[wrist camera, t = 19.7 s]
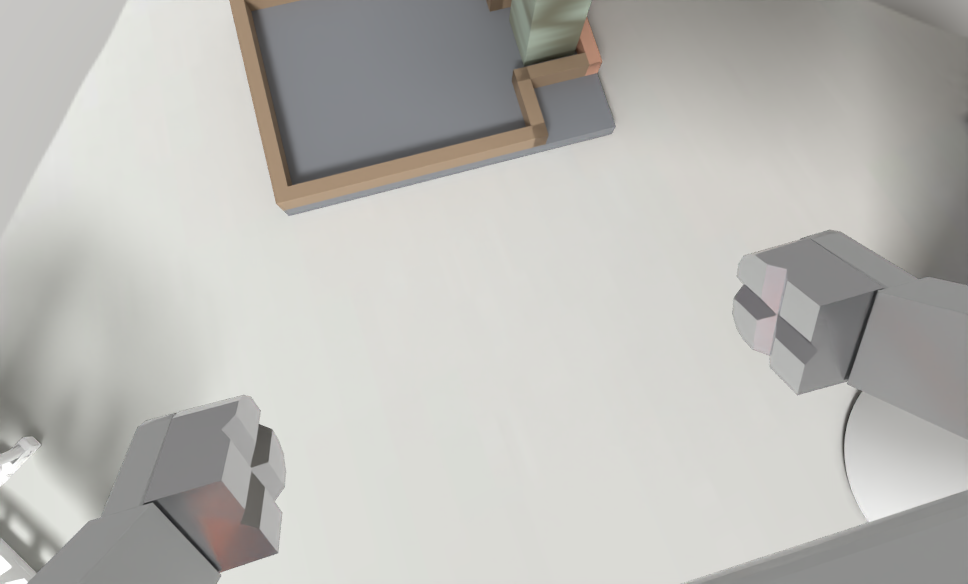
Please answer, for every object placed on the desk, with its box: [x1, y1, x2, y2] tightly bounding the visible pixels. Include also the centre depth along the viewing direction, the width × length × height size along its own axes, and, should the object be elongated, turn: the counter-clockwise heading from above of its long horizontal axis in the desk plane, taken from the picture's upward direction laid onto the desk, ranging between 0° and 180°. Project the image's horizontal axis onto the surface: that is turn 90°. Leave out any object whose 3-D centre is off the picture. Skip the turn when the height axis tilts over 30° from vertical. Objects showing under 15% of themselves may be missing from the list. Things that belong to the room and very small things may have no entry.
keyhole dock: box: [229, 0, 616, 216], centre depth 40 cm, size 25×17×3 cm
